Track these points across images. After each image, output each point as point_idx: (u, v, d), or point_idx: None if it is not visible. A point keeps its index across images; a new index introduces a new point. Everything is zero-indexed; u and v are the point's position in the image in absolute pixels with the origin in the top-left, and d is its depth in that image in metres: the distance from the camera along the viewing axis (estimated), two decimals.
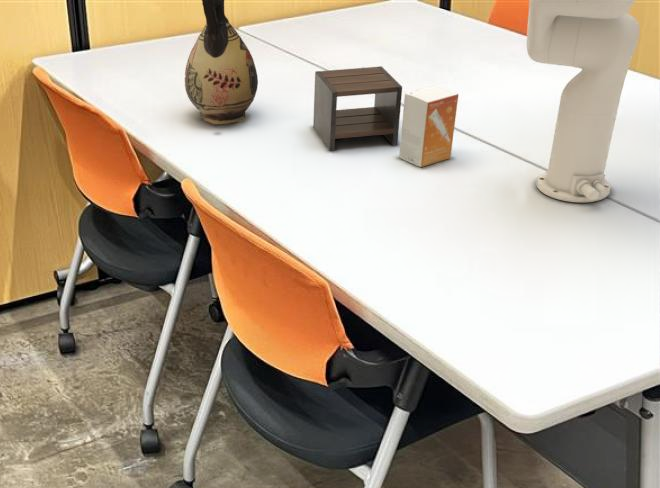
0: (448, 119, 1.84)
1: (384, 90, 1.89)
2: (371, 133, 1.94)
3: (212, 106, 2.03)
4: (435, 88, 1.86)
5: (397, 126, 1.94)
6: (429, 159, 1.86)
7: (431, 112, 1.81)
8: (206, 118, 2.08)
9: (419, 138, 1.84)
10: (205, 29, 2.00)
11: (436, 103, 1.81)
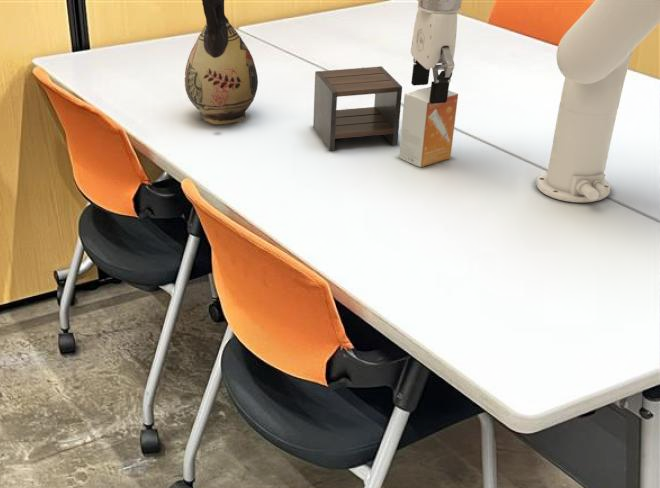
0: (448, 119, 1.84)
1: (384, 90, 1.89)
2: (371, 133, 1.94)
3: (212, 106, 2.03)
4: None
5: (397, 126, 1.94)
6: (428, 159, 1.86)
7: (431, 112, 1.81)
8: (206, 118, 2.08)
9: (419, 138, 1.84)
10: (205, 29, 2.00)
11: (435, 103, 1.81)
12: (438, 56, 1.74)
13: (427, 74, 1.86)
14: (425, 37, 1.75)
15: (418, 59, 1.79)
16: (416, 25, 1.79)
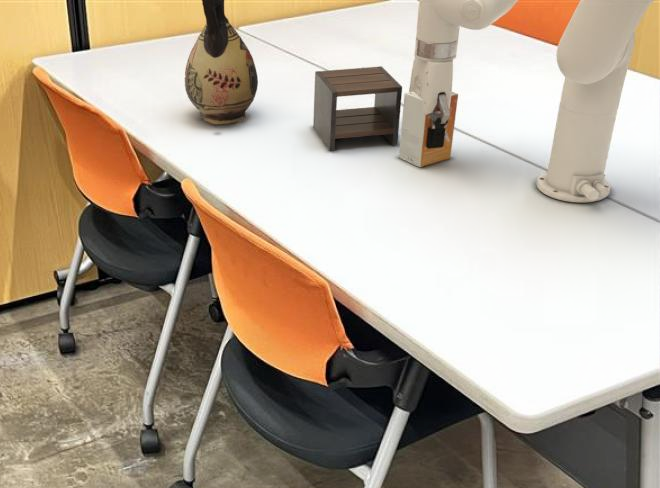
0: (448, 119, 1.84)
1: (384, 90, 1.89)
2: (371, 133, 1.94)
3: (212, 106, 2.03)
4: None
5: (397, 126, 1.94)
6: (428, 159, 1.86)
7: None
8: (206, 118, 2.08)
9: (419, 138, 1.84)
10: (205, 29, 2.00)
11: None
12: (435, 102, 1.79)
13: None
14: (422, 84, 1.80)
15: None
16: (413, 71, 1.83)
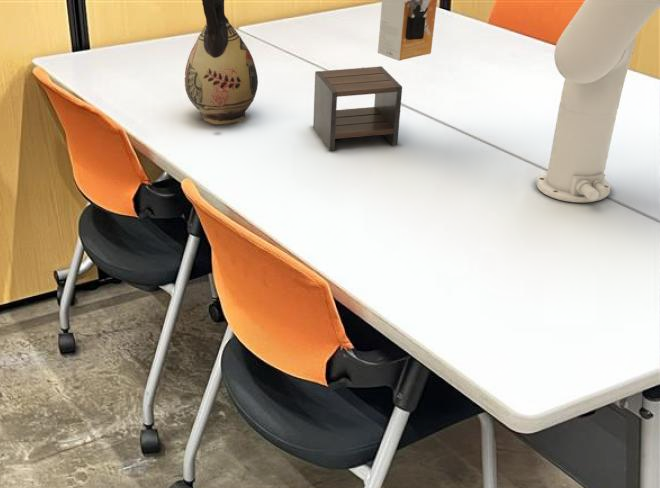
0: (428, 10, 1.78)
1: (384, 90, 1.89)
2: (371, 133, 1.94)
3: (212, 106, 2.03)
4: None
5: (397, 126, 1.94)
6: (408, 52, 1.80)
7: None
8: (206, 118, 2.08)
9: (398, 29, 1.77)
10: (205, 29, 2.00)
11: None
12: None
13: None
14: None
15: None
16: None
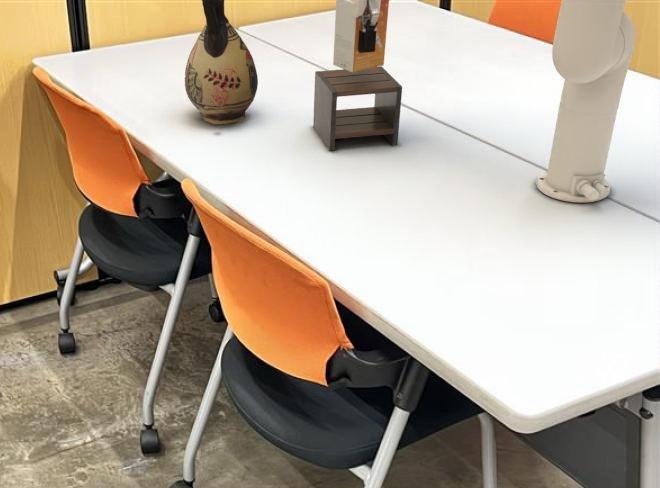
0: (379, 24, 1.87)
1: (384, 90, 1.89)
2: (371, 133, 1.94)
3: (212, 106, 2.03)
4: None
5: (397, 126, 1.94)
6: (361, 64, 1.89)
7: None
8: (206, 118, 2.08)
9: (350, 43, 1.86)
10: (205, 29, 2.00)
11: None
12: (365, 4, 1.81)
13: None
14: None
15: None
16: None
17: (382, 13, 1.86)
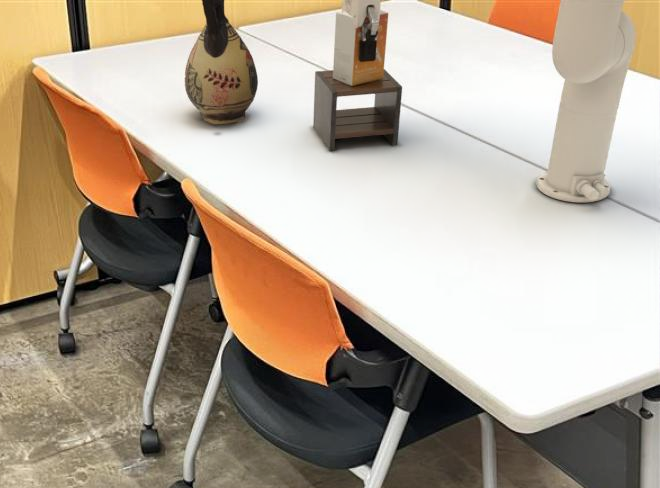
0: (378, 38, 1.88)
1: (384, 90, 1.89)
2: (371, 133, 1.94)
3: (212, 106, 2.03)
4: None
5: (397, 126, 1.94)
6: (360, 78, 1.90)
7: (360, 29, 1.85)
8: (206, 118, 2.08)
9: (350, 57, 1.88)
10: (205, 29, 2.00)
11: (365, 21, 1.84)
12: (364, 15, 1.82)
13: None
14: None
15: None
16: None
17: (381, 27, 1.87)
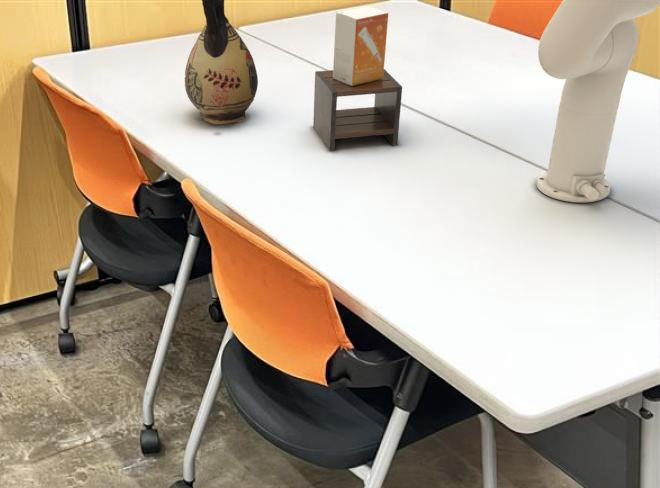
0: (378, 38, 1.88)
1: (384, 90, 1.89)
2: (371, 133, 1.94)
3: (212, 106, 2.03)
4: (366, 8, 1.89)
5: (397, 126, 1.94)
6: (360, 78, 1.90)
7: (360, 29, 1.85)
8: (206, 118, 2.08)
9: (350, 57, 1.88)
10: (205, 29, 2.00)
11: (365, 21, 1.84)
12: None
13: None
14: None
15: None
16: None
17: (381, 27, 1.87)
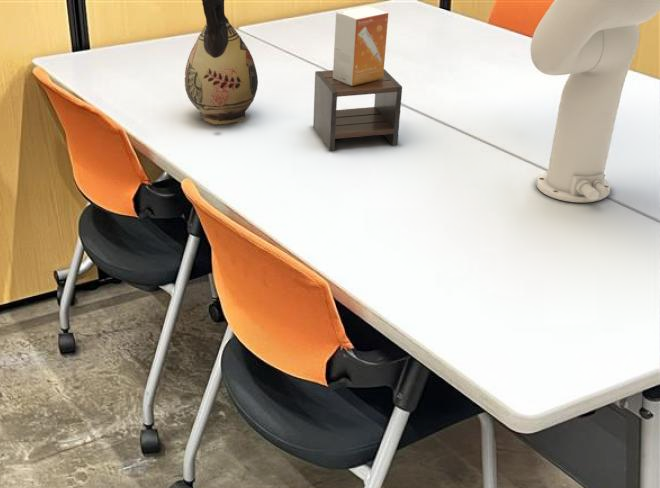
0: (378, 38, 1.88)
1: (384, 90, 1.89)
2: (371, 133, 1.94)
3: (212, 106, 2.03)
4: (366, 8, 1.89)
5: (397, 126, 1.94)
6: (360, 78, 1.90)
7: (360, 29, 1.85)
8: (206, 118, 2.08)
9: (350, 57, 1.88)
10: (205, 29, 2.00)
11: (365, 21, 1.84)
12: None
13: None
14: None
15: None
16: None
17: (381, 27, 1.87)
